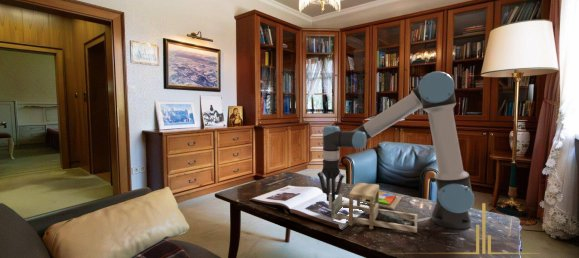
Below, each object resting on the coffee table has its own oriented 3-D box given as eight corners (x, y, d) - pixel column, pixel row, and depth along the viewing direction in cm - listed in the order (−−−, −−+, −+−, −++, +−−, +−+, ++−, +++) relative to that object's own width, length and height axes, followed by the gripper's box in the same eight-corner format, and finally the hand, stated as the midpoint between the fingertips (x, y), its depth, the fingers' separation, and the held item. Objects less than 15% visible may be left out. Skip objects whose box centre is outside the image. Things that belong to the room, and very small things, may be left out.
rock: (406, 226, 119) (407, 212, 118) (385, 230, 115) (385, 216, 115) (392, 218, 127) (392, 206, 127) (371, 222, 123) (372, 209, 123)
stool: (378, 213, 133) (379, 184, 131) (372, 229, 116) (373, 196, 115) (357, 210, 137) (357, 182, 135) (348, 225, 120) (349, 193, 119)
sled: (417, 218, 124) (417, 203, 123) (417, 232, 111) (417, 215, 110) (339, 207, 139) (339, 193, 138) (331, 218, 125) (331, 203, 125)
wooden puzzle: (358, 204, 147) (358, 197, 146) (370, 194, 162) (370, 188, 162) (392, 211, 137) (393, 204, 136) (402, 200, 152) (402, 193, 152)
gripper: (346, 158, 131) (346, 207, 133) (320, 156, 137) (320, 203, 139) (342, 161, 124) (342, 213, 127) (315, 159, 130) (315, 208, 132)
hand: (330, 207), depth 133 cm, fingers closed
